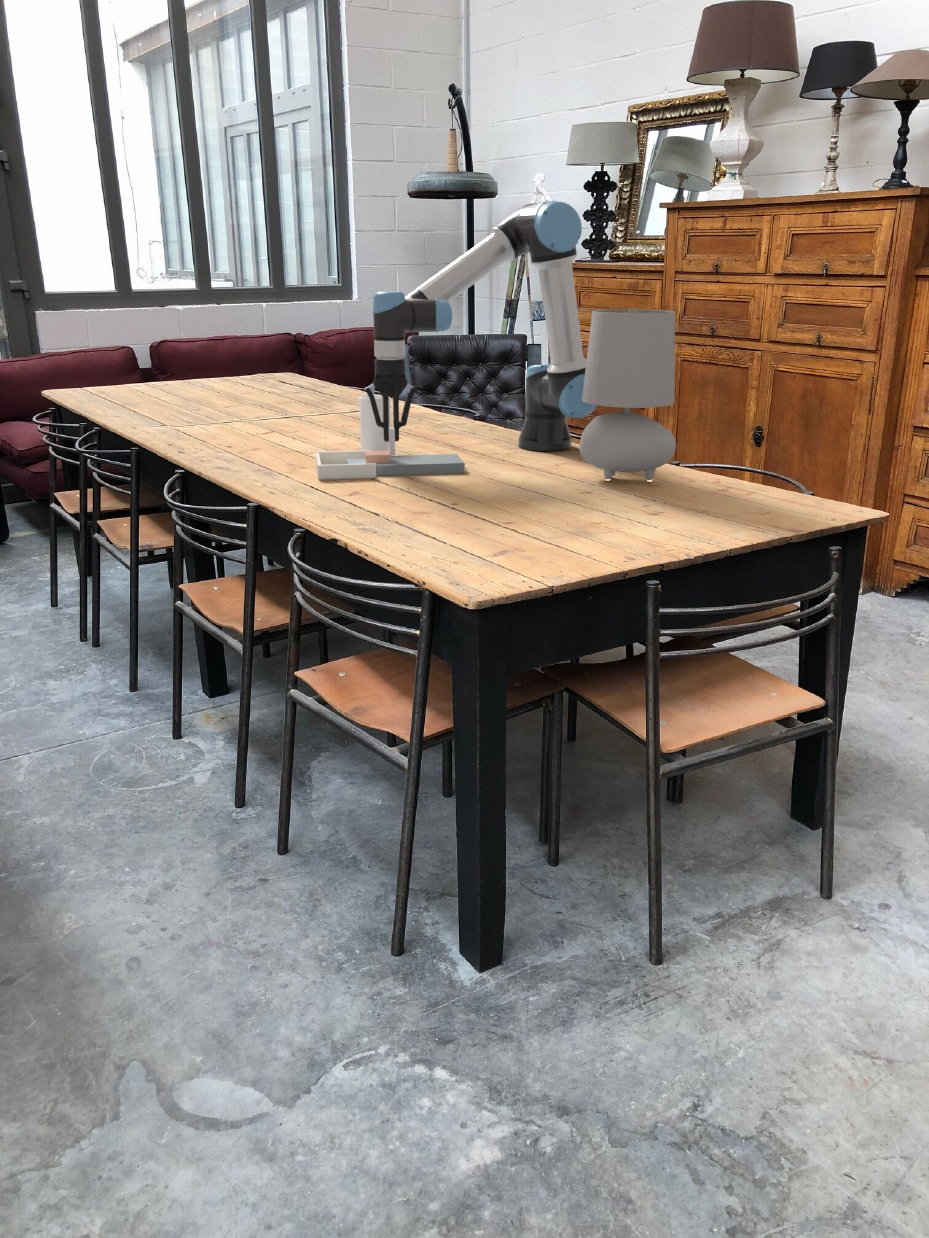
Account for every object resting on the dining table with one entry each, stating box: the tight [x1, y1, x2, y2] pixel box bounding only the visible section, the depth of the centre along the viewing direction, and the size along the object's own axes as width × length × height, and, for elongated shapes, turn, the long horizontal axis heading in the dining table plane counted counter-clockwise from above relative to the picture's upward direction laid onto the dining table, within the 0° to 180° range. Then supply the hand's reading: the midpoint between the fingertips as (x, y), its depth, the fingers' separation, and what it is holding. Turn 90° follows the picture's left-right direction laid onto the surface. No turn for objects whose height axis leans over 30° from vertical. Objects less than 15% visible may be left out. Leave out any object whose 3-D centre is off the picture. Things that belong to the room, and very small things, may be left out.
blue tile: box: [347, 459, 371, 464], centre depth 243 cm, size 6×6×2 cm
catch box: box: [315, 450, 377, 481], centre depth 243 cm, size 14×18×4 cm
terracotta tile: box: [364, 450, 390, 463], centre depth 243 cm, size 6×6×2 cm
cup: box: [358, 394, 393, 456], centre depth 260 cm, size 8×8×16 cm
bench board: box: [376, 453, 466, 477], centre depth 246 cm, size 22×12×2 cm, turn 100°
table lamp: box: [579, 307, 677, 480], centre depth 228 cm, size 23×22×40 cm
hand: (391, 454), depth 244 cm, fingers closed
